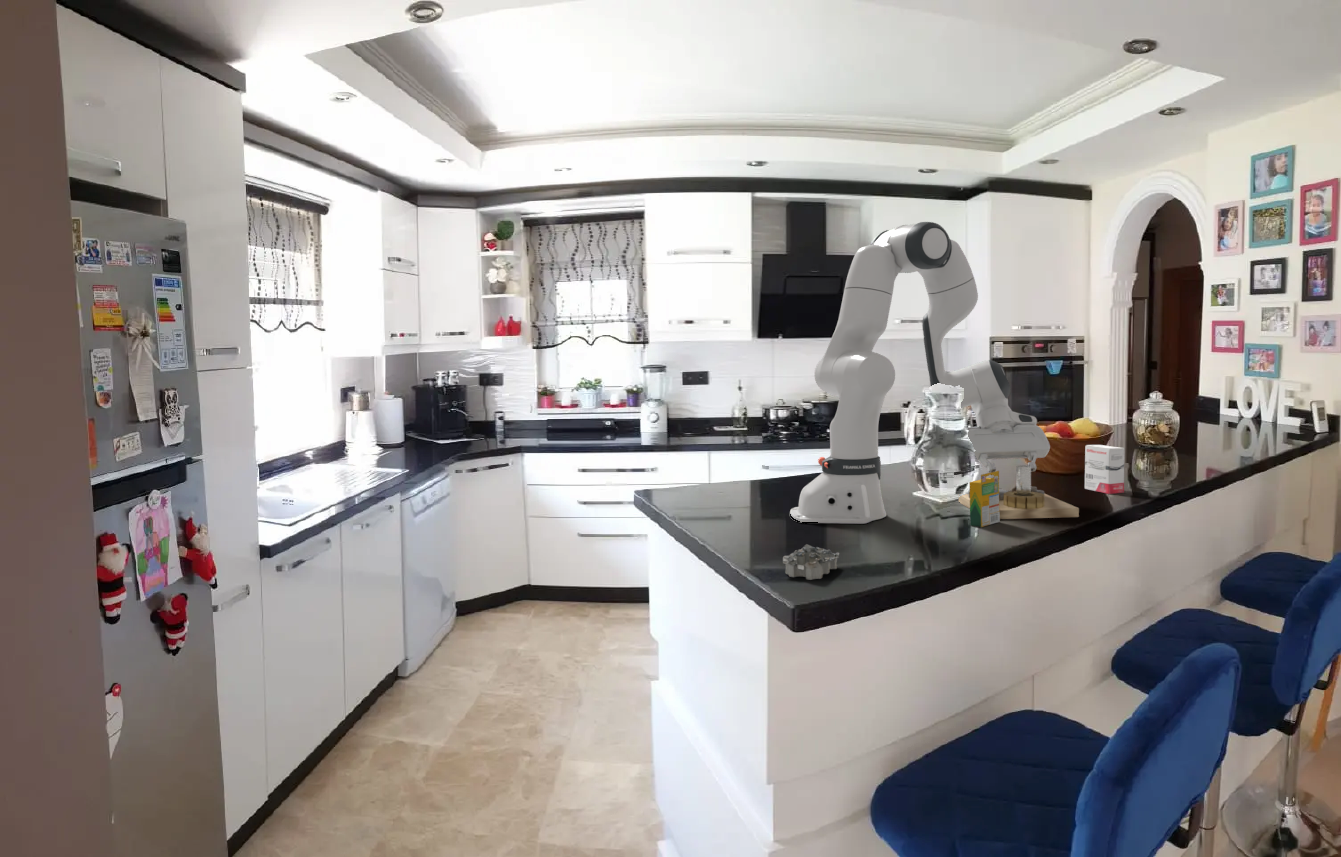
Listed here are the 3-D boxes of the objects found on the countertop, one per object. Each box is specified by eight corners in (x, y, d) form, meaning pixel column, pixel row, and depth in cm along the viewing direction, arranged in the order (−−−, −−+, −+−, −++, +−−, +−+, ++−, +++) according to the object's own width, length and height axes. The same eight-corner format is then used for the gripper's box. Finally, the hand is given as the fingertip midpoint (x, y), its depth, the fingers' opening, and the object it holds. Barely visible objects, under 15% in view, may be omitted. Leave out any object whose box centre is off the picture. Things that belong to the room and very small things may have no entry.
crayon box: (987, 520, 169) (987, 469, 168) (1000, 522, 166) (1000, 470, 165) (969, 525, 164) (968, 473, 163) (981, 527, 162) (981, 474, 161)
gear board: (987, 519, 169) (987, 499, 169) (958, 502, 189) (958, 484, 189) (1078, 516, 168) (1078, 497, 167) (1040, 499, 188) (1040, 481, 187)
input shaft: (1019, 506, 172) (1019, 467, 171) (1014, 503, 175) (1014, 465, 174) (1032, 506, 172) (1033, 467, 171) (1027, 503, 175) (1027, 465, 174)
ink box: (1125, 492, 192) (1126, 447, 191) (1108, 494, 191) (1109, 448, 190) (1099, 487, 200) (1099, 443, 199) (1083, 489, 199) (1083, 444, 198)
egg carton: (816, 583, 129) (816, 560, 129) (778, 576, 134) (777, 554, 134) (843, 567, 138) (843, 545, 137) (807, 561, 142) (806, 540, 142)
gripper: (957, 419, 187) (971, 464, 178) (1042, 416, 185) (1059, 461, 177) (952, 435, 192) (965, 479, 183) (1034, 432, 190) (1051, 476, 182)
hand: (1012, 470), depth 180 cm, fingers open, 8 cm apart
